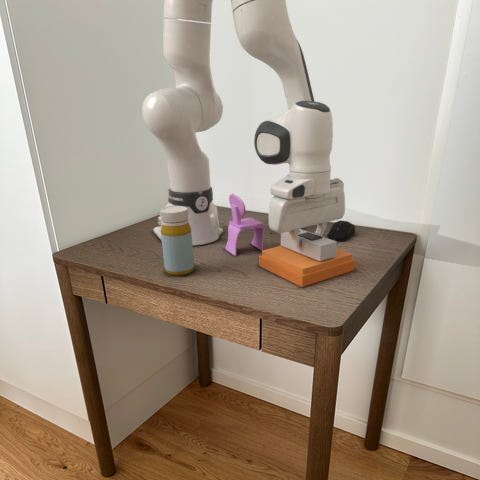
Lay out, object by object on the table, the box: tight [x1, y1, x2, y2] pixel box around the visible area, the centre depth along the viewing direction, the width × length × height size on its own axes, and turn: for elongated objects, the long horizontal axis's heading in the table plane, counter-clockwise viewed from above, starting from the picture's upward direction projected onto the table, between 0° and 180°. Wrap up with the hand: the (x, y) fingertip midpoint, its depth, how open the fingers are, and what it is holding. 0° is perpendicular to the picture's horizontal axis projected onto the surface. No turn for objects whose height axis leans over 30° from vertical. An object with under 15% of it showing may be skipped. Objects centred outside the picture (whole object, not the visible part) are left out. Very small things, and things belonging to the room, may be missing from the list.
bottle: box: [159, 206, 195, 277], centre depth 107 cm, size 7×7×15 cm
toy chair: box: [224, 193, 265, 257], centre depth 119 cm, size 8×9×15 cm
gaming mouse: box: [327, 219, 356, 242], centre depth 129 cm, size 6×15×4 cm, turn 152°
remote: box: [280, 228, 338, 261], centre depth 107 cm, size 14×5×4 cm, turn 34°
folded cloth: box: [258, 245, 356, 288], centre depth 109 cm, size 16×16×4 cm
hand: (307, 243), depth 107 cm, fingers closed on remote, 5 cm apart
